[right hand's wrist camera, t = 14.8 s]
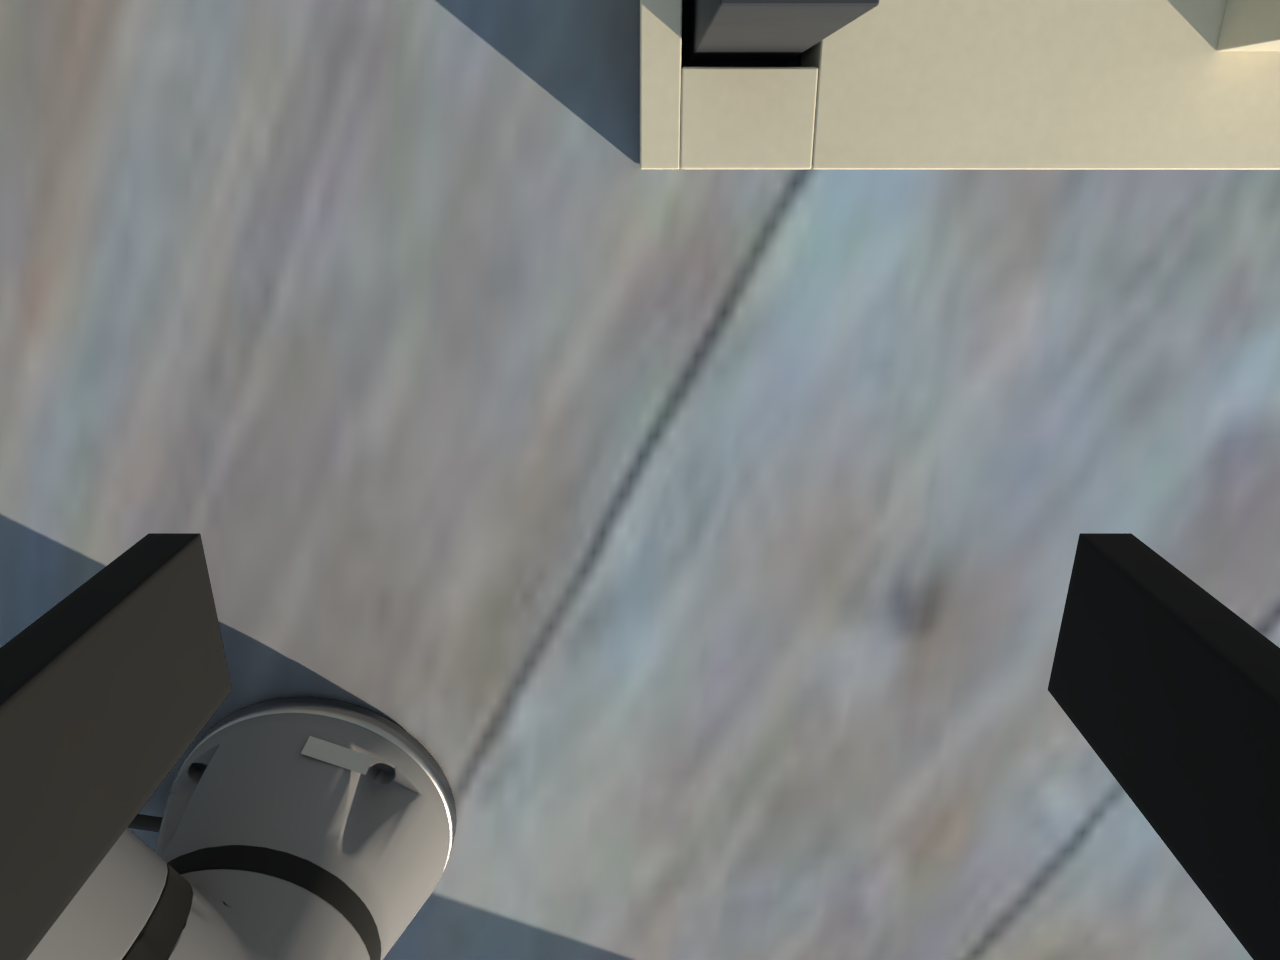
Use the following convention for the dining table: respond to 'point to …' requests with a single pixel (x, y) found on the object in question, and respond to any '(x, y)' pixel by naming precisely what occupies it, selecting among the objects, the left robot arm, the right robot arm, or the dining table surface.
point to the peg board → (981, 90)
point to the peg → (765, 27)
